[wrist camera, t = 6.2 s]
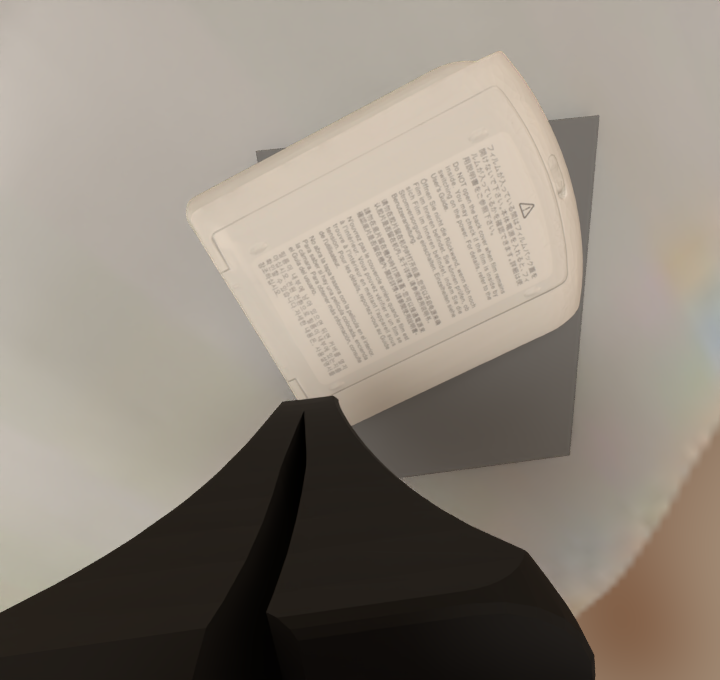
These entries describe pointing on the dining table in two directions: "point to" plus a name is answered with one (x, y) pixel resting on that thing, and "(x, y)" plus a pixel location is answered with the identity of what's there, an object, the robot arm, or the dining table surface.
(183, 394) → the dining table surface
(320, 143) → the photo printer
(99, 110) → the dining table surface
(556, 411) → the rubber mat
